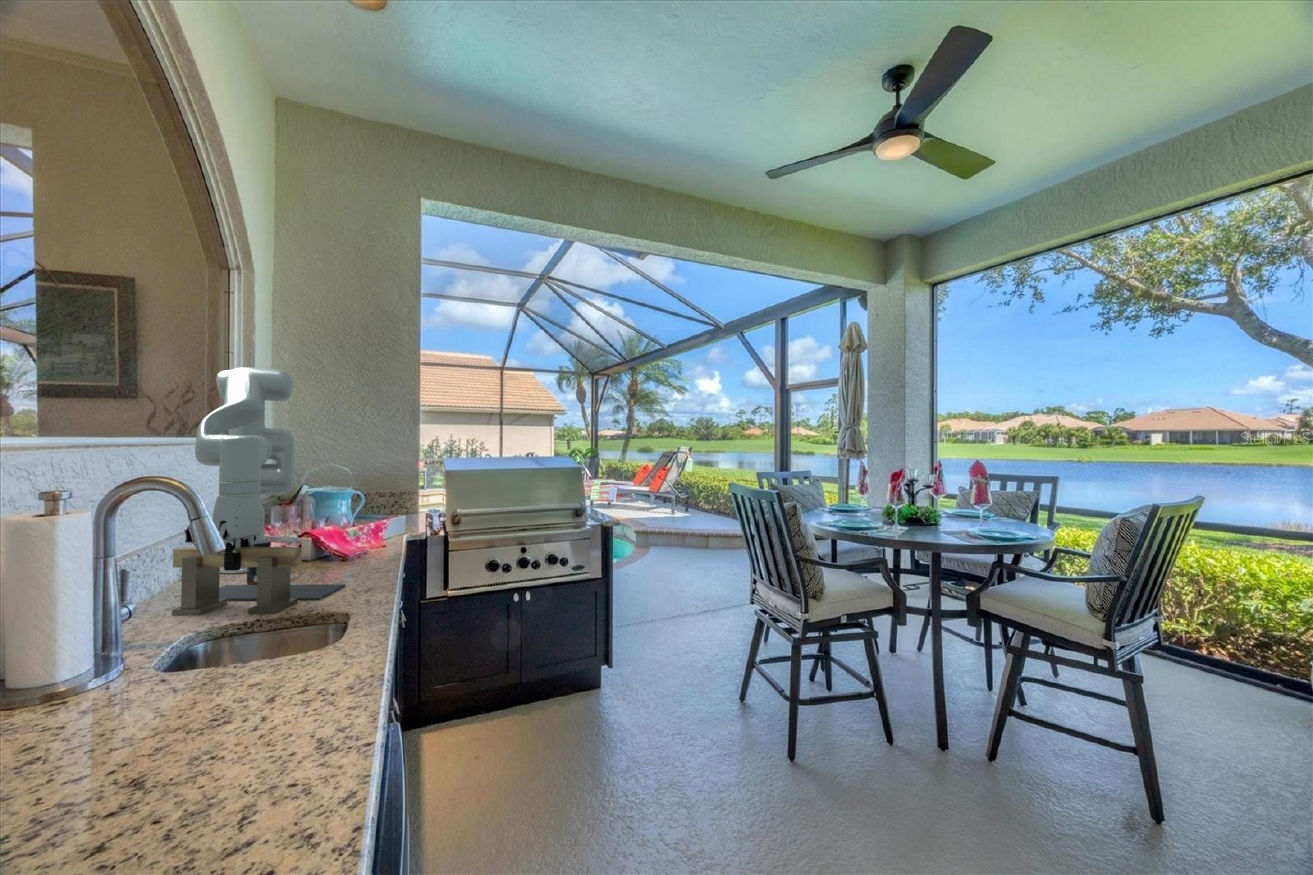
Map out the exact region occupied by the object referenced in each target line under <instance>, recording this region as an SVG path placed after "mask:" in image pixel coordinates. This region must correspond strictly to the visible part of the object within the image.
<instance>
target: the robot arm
mask: <svg viewBox="0 0 1313 875" xmlns="http://www.w3.org/2000/svg"><path fill="white" fill-rule="evenodd" d="M215 382H216V385H217V391H218V392H219V395H220V397H221V399H222V400H223V405H222V406H219V407H218V408H216V409H215V410H213V411H211V412H210V413H208V414H207V415H206V416H205V417H204V418H202V420H201V422H200V423H199V425H198V427H197V431H196V437H195V446H194V454H195V455H194V456H195V458H196V460H197V461H198V462H199V463H200V464H201V465H204V466H209V467H213V466H214V467H217V466H218V467H219V472H218V481H219V482H218V496H216V500H215V504H214V506H213V507H214V508H213V513H212V514H213V515H212V521H213V522H214V524H215V525H216V528H217V529H218V531H219V532H220V535H221V536H222V538H223V539H224V540H225V545H226V549H225V551H224V552H223V553H224V567H220V574H241V573H242V574H243V573H247V567H240V566H241V552H238V551H239V547H254V542H256V541H265V515H266V512H265V507H264V505H263V504H262V499H261V496H263V495H265V496H266V495H283V494H287V493H290V492H291V491H292V490H293V487H294V483H295V482H294V480H295V440H294V436H293V434H292V432H291V431H290V430H288V429H286V428H285V429H284V428H275V427H274V428H268V427H267V428H266V425H265V423H266V422H265V420H266V418H265V416H266V413H265V412H266V401H272V402H286V401H287V402H288V400H290V398H291V397H292V394H293V392H294V391H293V390H294V383H293V378H292V375H290V373H289V372H288V371H286V370H283V369H275V368H263V367H252V366H241V367H235V368H232V369H225V370H221V371H219V372H218V373H217V375H216V381H215ZM227 431H228V434H221V433H222V432H227ZM268 460H273V461H275V462H276V463H267V461H268Z"/></svg>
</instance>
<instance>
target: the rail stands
mask: <svg viewBox="0 0 1313 875" xmlns="http://www.w3.org/2000/svg"><path fill="white" fill-rule="evenodd" d="M291 568H292V567H276V557H260V558H258V576H257V601H256V604H255V605H254V606H252V607H249V608H248V609H247V615H277V614H280V613H281V612H283V611H285V610H286V609H289V608H291V607H293V606H295V605H297V604H298V601H299V600H298V598H290V585H291V572H292V571H291ZM220 574H221V573H220V567H202V557H185V558H182V567H181V590H180V591H181V592H180V595H181V596H180V606H178V607H175V608H173V609H171V616H201V615H203V614H206V613H209V612H210V611H213V610H215V609H218V608H220V607H223V606H224V605H223V604H225V605H228V601H227V599H219V588H220V577H221V576H220ZM294 604H295V605H294ZM222 605H223V606H222ZM212 609H213V610H212ZM284 609H285V610H284ZM197 614H198V615H197Z"/></svg>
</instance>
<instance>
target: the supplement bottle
mask: <svg viewBox="0 0 1313 875" xmlns="http://www.w3.org/2000/svg"><path fill="white" fill-rule="evenodd" d="M271 544H272V541H271V540H264V541H256V542H254V547H272V545H271ZM257 576H258V567H247V572H246V585H257Z"/></svg>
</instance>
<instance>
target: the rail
mask: <svg viewBox="0 0 1313 875" xmlns="http://www.w3.org/2000/svg"><path fill="white" fill-rule="evenodd" d="M196 547H197V546H183V547H179V548H175V549H173V550H172V568H182V558H185V557H202V567H224V553H221V554H216V555H202V554H200V553H199V552H198V550H197V548H196ZM238 552H241V566H240V567H258V558H260V557H276V567H291V568H294V567H298V566H299V565H302V546H271V547H239V551H238Z"/></svg>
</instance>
